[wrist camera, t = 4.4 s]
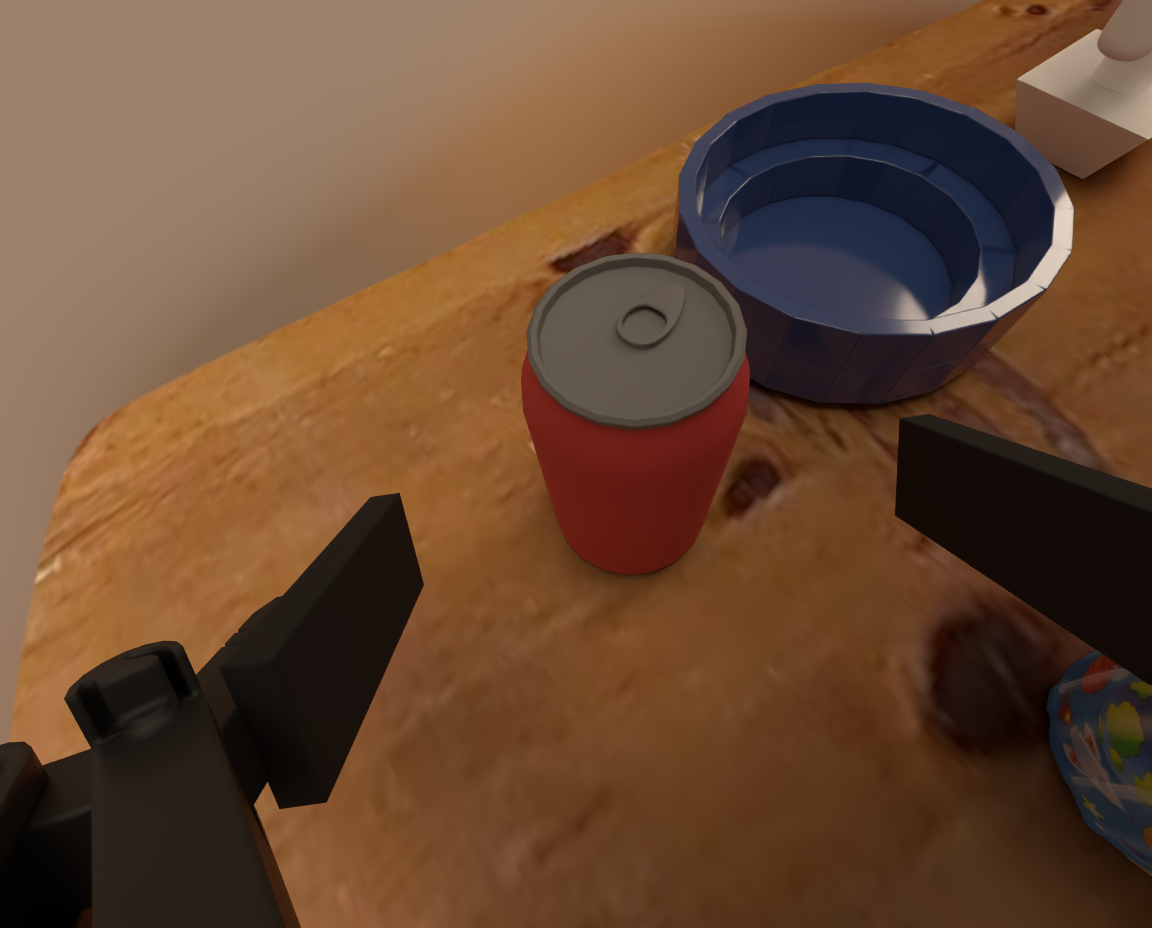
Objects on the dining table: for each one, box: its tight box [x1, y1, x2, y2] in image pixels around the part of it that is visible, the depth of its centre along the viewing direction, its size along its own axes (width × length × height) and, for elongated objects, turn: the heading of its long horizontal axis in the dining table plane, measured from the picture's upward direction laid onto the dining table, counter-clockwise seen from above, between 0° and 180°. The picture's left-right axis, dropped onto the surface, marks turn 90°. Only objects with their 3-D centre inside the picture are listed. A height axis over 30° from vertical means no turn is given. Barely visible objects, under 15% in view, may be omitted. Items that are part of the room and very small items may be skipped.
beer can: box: [521, 253, 750, 575], centre depth 19 cm, size 7×7×12 cm
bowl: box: [671, 83, 1074, 404], centre depth 27 cm, size 17×17×6 cm
